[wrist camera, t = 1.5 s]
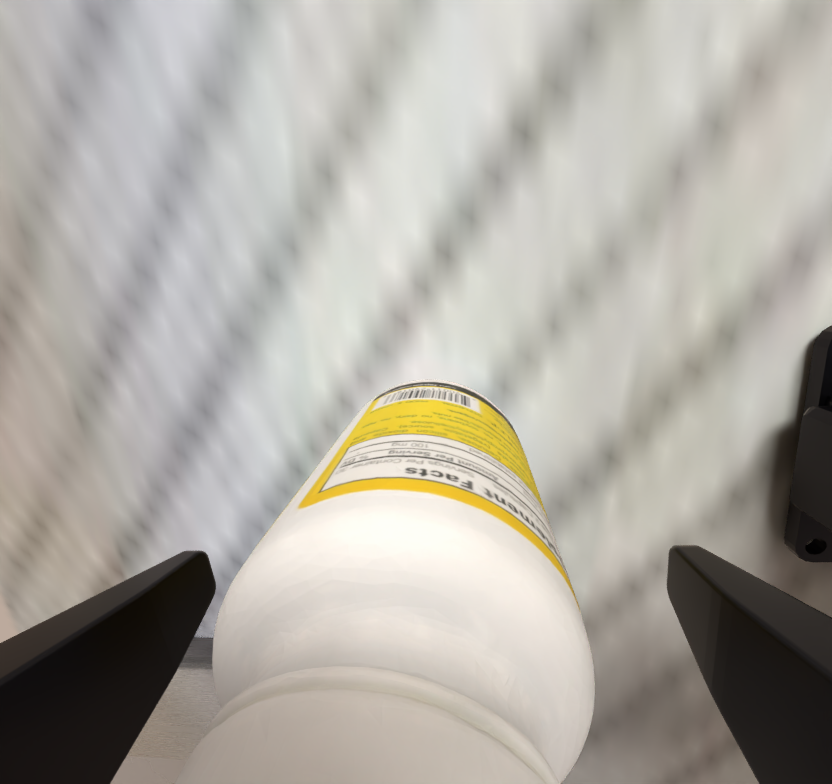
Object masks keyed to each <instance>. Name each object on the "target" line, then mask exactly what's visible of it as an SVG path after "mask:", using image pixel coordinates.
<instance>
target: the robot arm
mask: <svg viewBox="0 0 832 784" xmlns="http://www.w3.org/2000/svg"><path fill="white" fill-rule="evenodd" d="M812 539H813V541H812V542H811V543H809V544H807V542H809V541H810V540H812ZM784 540H785V544H786V546H787V547H788V549H790V550H791V551H792V552H793V553H794V554H796V555H797V556H798V557H799V558H801V559H803V560H804V561H808V562H832V326H830V327H828V328H826V329H825V330H823V331H822V332H821V333H820V335H819V336H818V337H817V339H816V341H815V344H814V348H813V355H812V361H811V368H810V374H809V381H808V387H807V394H806V400H805V407H804V413H803V417H802V422H801V428H800V435H799V441H798V448H797V454H796V461H795V467H794V474H793V480H792V487H791V493H790V504H789V510H788V517H787V523H786V529H785V536H784ZM806 544H807V545H806ZM215 589H216V582H215V579H214V575H213V572H212V568H211V565H210V561H209V558H208V555H207V554H206V553H205V552H204V551H184V552H182V553H180V554H178V555H176V556H174V557H172V558H170V559H168V560H166V561H164V562H162V563H160V564H158V565H156V566H154V567H152V568H150V569H148V570H146V571H144V572H142V573H140V574H138V575H136V576H134V577H132V578H130V579H128V580H126V581H124V582H122V583H120V584H118V585H116V586H114V587H112V588H110V589H108V590H106V591H104V592H102V593H100V594H98V595H96V596H94V597H92V598H90V599H88V600H86V601H84V602H82V603H80V604H78V605H76V606H74V607H72V608H70V609H68V610H66V611H64V612H62V613H60V614H58V615H56V616H54V617H52V618H50V619H48V620H46V621H44V622H42V623H40V624H38V625H36V626H34V627H32V628H30V629H28V630H26V631H24V632H22V633H20V634H18V635H16V636H14V637H12V638H10V639H8V640H6V641H4V642H2V643H0V784H110V783H111V781H112V780H113V778H114V776H115V775H116V773H117V771H118V770H119V768H120V766H121V765H122V763H123V761H124V760H125V758H126V756H127V755H128V753H129V751H130V749H131V748H132V746H133V744H134V743H135V741H136V739H137V738H138V736H139V734H140V733H141V731H142V729H143V728H144V726H145V724H146V723H147V721H148V719H149V718H150V716H151V714H152V712H153V711H154V709H155V707H156V706H157V704H158V702H159V701H160V699H161V697H162V696H163V694H164V692H165V691H166V689H167V687H168V686H169V684H170V682H171V680H172V679H173V677H174V675H175V673H176V671H177V669H178V667H179V666H180V664H181V662H182V660H183V658H184V656H185V654H186V652H187V650H188V648H189V646H190V644H191V642H192V639H193V637H194V635H195V633H196V631H197V629H198V627H199V625H200V623H201V621H202V619H203V617H204V615H205V613H206V611H207V609H208V607H209V605H210V603H211V601H212V599H213V597H214V594H215ZM667 591H668V595H669V598H670V601H671V603H672V606H673V608H674V610H675V613H676V615H677V617H678V620H679V622H680V624H681V627H682V629H683V631H684V634H685V636H686V638H687V641H688V643H689V645H690V648H691V650H692V652H693V654H694V657H695V659H696V661H697V664H698V666H699V668H700V671H701V673H702V675H703V678H704V680H705V682H706V684H707V686H708V689H709V691H710V693H711V695H712V697H713V699H714V701H715V703H716V705H717V707H718V709H719V711H720V712H721V714H722V716H723V718H724V720H725V722H726V723H727V725H728V727H729V729H730V731H731V733H732V734H733V736H734V738H735V740H736V742H737V744H738V745H739V747H740V749H741V751H742V753H743V755H744V756H745V758H746V760H747V762H748V764H749V766H750V767H751V769H752V771H753V773H754V775H755V777H756V778H757V780H758V782H759V784H832V618H831V617H829V616H827V615H826V614H824V613H822V612H820V611H818V610H816V609H815V608H813V607H811V606H809V605H807V604H805V603H803V602H802V601H800V600H798V599H796V598H794V597H792V596H790V595H789V594H787V593H785V592H783V591H781V590H779V589H777V588H776V587H774V586H772V585H770V584H768V583H766V582H764V581H763V580H761V579H759V578H757V577H755V576H753V575H752V574H750V573H748V572H746V571H744V570H742V569H740V568H739V567H737V566H735V565H733V564H731V563H729V562H727V561H726V560H724V559H722V558H720V557H718V556H716V555H714V554H713V553H711V552H709V551H707V550H705V549H703V548H701V547H699V546H696V545H675V546H673V547H672V548H671V549H670V551H669V559H668V574H667Z"/></svg>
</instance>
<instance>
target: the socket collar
mask: <svg viewBox="0 0 832 784" xmlns="http://www.w3.org/2000/svg"><path fill="white" fill-rule="evenodd" d="M213 639H214V638H193V639H192V642H191V644H190V646H189V648H188V650H187V652H186V654H185V656H184V658H183V660H182V662H181V664H180V666H179V667H178V669H177V671H176V673H175V675H174V677H173V679H172V680H171V682H170V684H169V686H168V687H167V689H166V691H165V692H164V694H163V696H162V697H161V699H160V701H159V702H158V704H157V706H156V707H155V709H154V711H153V712H152V714H151V716H150V718H149V719H148V721H147V723H146V724H145V726H144V728H143V729H142V731H141V733H140V734H139V736H138V738H137V739H136V741H135V743H134V744H133V746H132V748H131V749H130V751H129V753H128V755H127V756H126V758H125V760H124V761H123V763H122V765H121V766H120V768H119V770H118V771H117V773H116V775H115V776H114V778H113V780H112V781H111V783H110V784H175V782H176V780H177V778H178V776H179V774H180V773H181V771H182V769H183V767H184V765H185V763H186V761H187V760H188V758H189V756H190V755H191V753H192V752H193V750H194V749H195V747H196V746H197V745H198V744H199V743H200V740H201V738H202V736H203V734H204V732H205V730H206V728H207V726H208V725H209V723H210V722H211V721H212V719H213V718H214V717H215V716H216V715H217V713H218V712H219V711H220V710H221V707H220V704H219V701H218V698H217V694H216V689H215V684H214V678H213V667H212V655H213Z"/></svg>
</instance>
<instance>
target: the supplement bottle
mask: <svg viewBox="0 0 832 784" xmlns="http://www.w3.org/2000/svg"><path fill="white" fill-rule="evenodd" d="M212 667H213V678H214V684H215V689H216V694H217V698H218V701H219V704H220V707H221V710H220V711H219V712H218V713H217V715H216V716H215V717H214V718H213V719H212V721H211V722H210V723H209V725H208V726H207V728H206V730H205V732H204V734H203V736H202V738H201V740H200V743H199V744H198V745H197V746H196V747H195V749H194V750H193V752H192V753H191V755H190V756H189V758H188V760H187V761H186V763H185V765H184V767H183V769H182V771H181V773H180V774H179V776H178V778H177V780H176V782H175V784H561V783H562V782H563V781H564V779H565V778H566V777H567V775H568V774H569V772H570V771H571V769H572V768H573V766H574V765H575V763H576V761H577V759H578V757H579V755H580V753H581V751H582V749H583V747H584V744H585V741H586V738H587V736H588V733H589V729H590V726H591V722H592V716H593V710H594V702H595V677H594V665H593V658H592V652H591V649H590V645H589V641H588V637H587V634H586V630H585V626H584V623H583V619H582V616H581V612H580V609H579V605H578V602H577V600H576V597H575V594H574V591H573V589H572V586H571V583H570V580H569V577H568V575H567V572H566V569H565V566H564V563H563V561H562V558H561V556H560V553H559V550H558V547H557V544H556V541H555V537H554V535H553V533H552V530H551V526H550V524H549V521H548V518H547V515H546V512H545V510H544V507H543V504H542V501H541V498H540V495H539V493H538V490H537V487H536V484H535V481H534V478H533V476H532V473H531V470H530V468H529V465H528V462H527V459H526V456H525V453H524V451H523V448H522V446H521V444H520V441H519V439H518V436H517V434H516V432H515V430H514V429H513V427H512V425H511V423H510V422H509V420H508V419H507V418H506V416H505V415H504V414H503V413H502V412H501V410H500V409H499V408H498V407H496V406H495V405H494V404H493V403H492V402H491V401H490V400H488V399H487V398H486V397H485V396H483V395H482V394H480V393H478V392H477V391H475V390H473V389H471V388H469V387H466V386H463V385H460V384H457V383H454V382H449V381H445V380H433V379H425V380H414V381H409V382H405V383H401V384H398V385H396V386H393V387H391V388H389V389H387V390H385V391H383V392H382V393H380V394H378V395H377V396H376V397H374V398H373V399H372V400H370V401H369V402H368V403H367V404H366V405H365V406H364V407H363V408H362V409H361V410H360V411H359V413H358V414H357V415H356V416H355V418H354V419H353V420H352V421H351V423H350V424H349V425H348V426H347V428H346V429H345V430H344V431H343V433H342V434H341V435H340V437H339V438H338V439H337V441H336V442H335V443H334V445H333V446H332V447H331V449H330V450H329V451H328V453H327V454H326V455H325V457H324V458H323V459H322V461H321V462H320V463H319V465H318V466H317V467H316V468H315V470H314V471H313V472H312V474H311V475H310V476H309V478H308V479H307V480H306V482H305V483H304V484H303V485H302V487H301V488H300V489H299V491H298V492H297V493H296V495H295V496H294V497H293V499H292V500H291V501H290V503H289V504H288V505H287V507H286V508H285V509H284V511H283V512H282V513H281V514H280V516H279V517H278V518H277V520H276V521H275V522H274V524H273V525H272V526H271V528H270V529H269V530H268V531H267V533H266V534H265V535H264V537H263V538H262V539H261V541H260V542H259V543H258V545H257V546H256V548H255V549H254V550H253V552H252V553H251V555H250V556H249V557H248V559H247V560H246V562H245V563H244V565H243V566H242V568H241V569H240V570H239V572H238V573H237V575H236V577H235V578H234V580H233V582H232V583H231V585H230V587H229V589H228V591H227V594H226V596H225V598H224V600H223V603H222V606H221V608H220V611H219V614H218V618H217V622H216V626H215V631H214V639H213V655H212Z"/></svg>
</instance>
